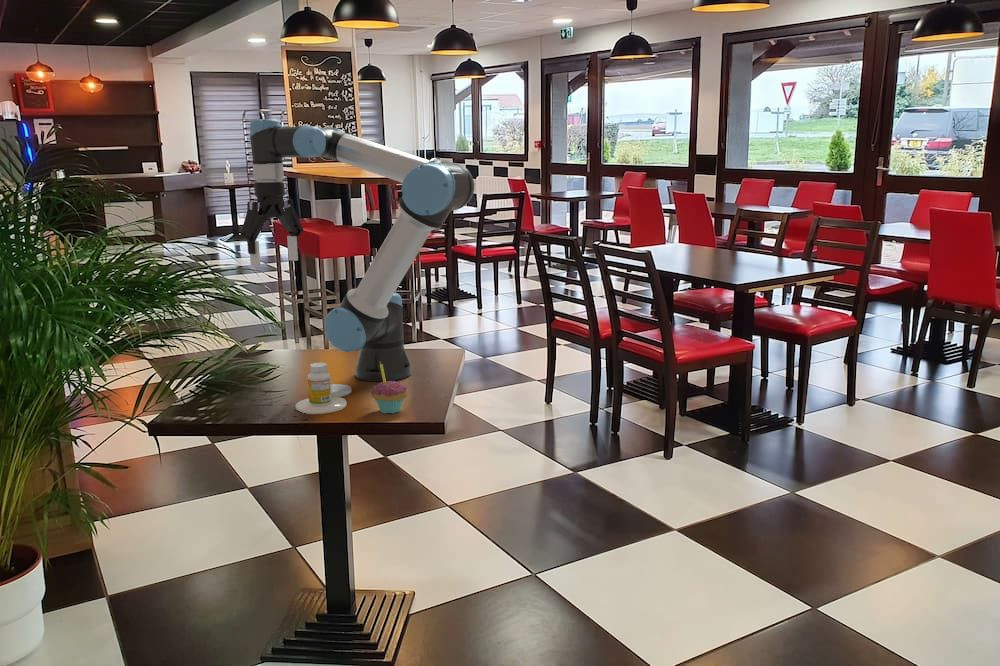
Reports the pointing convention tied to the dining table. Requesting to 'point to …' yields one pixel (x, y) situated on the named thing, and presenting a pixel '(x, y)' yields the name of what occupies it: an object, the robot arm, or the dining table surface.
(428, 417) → the dining table surface
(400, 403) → the cupcake
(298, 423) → the dining table surface
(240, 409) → the dining table surface
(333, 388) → the grey coaster
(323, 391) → the supplement bottle
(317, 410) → the cream coaster
